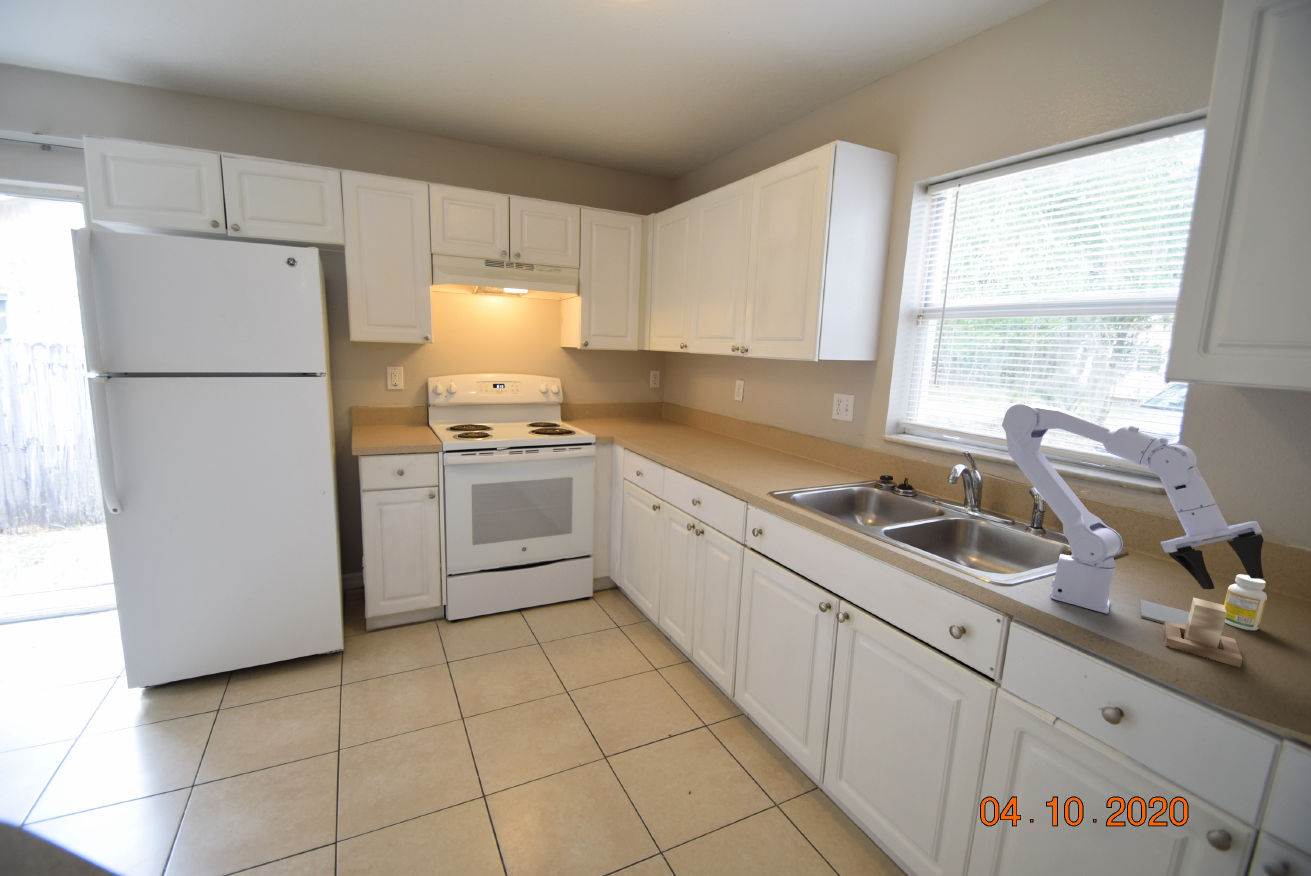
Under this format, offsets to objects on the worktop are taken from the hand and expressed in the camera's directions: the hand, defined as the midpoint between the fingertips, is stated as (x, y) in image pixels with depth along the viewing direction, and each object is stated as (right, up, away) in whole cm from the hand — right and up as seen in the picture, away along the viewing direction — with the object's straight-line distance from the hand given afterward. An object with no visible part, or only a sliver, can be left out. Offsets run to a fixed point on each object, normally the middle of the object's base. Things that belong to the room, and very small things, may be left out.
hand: (1233, 583), depth 100 cm
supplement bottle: (+14, -11, +13) cm, 22 cm away
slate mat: (+2, -10, +13) cm, 17 cm away
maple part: (-4, -12, +2) cm, 13 cm away
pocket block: (-4, -12, +2) cm, 13 cm away
